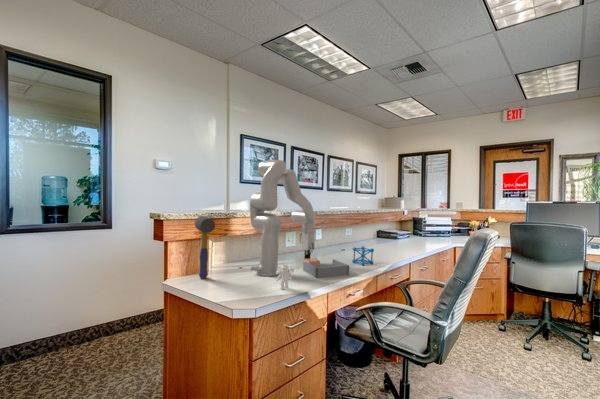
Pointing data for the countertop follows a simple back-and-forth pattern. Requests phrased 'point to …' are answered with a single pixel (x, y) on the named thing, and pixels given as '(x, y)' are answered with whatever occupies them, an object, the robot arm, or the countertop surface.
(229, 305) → the countertop surface
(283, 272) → the flower shoulder figurine
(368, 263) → the molecular structure
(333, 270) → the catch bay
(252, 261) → the countertop surface
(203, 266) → the rubber mallet
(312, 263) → the terracotta tile
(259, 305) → the countertop surface
